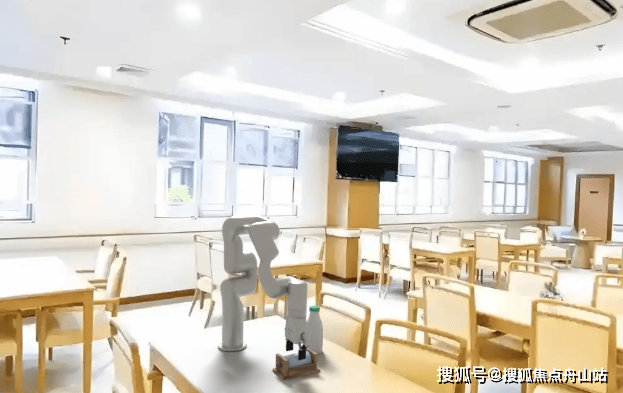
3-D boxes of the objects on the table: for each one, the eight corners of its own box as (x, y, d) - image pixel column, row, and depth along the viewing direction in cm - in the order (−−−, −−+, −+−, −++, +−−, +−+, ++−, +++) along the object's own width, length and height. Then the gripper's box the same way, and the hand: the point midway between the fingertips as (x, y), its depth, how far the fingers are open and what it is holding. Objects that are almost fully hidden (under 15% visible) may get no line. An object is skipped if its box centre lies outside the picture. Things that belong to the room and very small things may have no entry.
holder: (272, 370, 172) (272, 353, 172) (307, 362, 180) (307, 346, 180) (284, 380, 163) (284, 362, 163) (320, 371, 172) (320, 354, 172)
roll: (288, 374, 167) (289, 359, 166) (281, 368, 172) (281, 353, 171) (311, 369, 172) (312, 354, 172) (303, 362, 177) (304, 348, 177)
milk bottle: (320, 355, 188) (321, 309, 188) (303, 353, 190) (304, 308, 189) (323, 349, 196) (324, 305, 195) (307, 347, 197) (307, 303, 197)
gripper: (278, 307, 177) (277, 349, 177) (300, 319, 162) (298, 365, 163) (294, 305, 181) (293, 345, 181) (316, 317, 166) (315, 361, 167)
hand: (295, 354), depth 172 cm, fingers open, 9 cm apart
